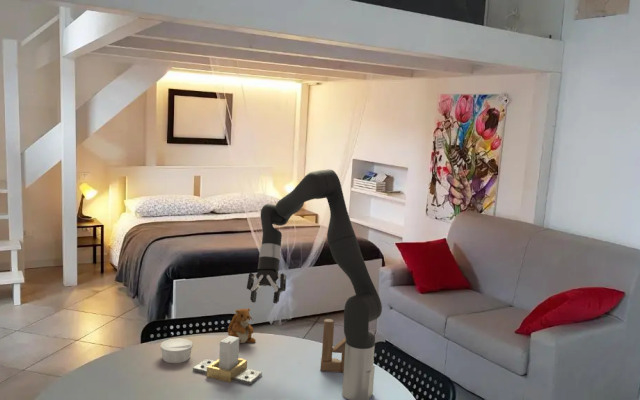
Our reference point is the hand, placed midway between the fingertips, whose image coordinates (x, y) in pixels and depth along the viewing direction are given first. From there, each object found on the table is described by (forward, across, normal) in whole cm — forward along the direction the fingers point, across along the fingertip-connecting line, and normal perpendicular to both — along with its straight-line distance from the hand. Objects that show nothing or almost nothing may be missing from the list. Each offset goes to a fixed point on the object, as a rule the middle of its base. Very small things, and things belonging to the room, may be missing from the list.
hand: (264, 302), depth 192 cm
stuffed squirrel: (+12, -19, +21) cm, 31 cm away
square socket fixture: (+25, -9, -4) cm, 27 cm away
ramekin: (+21, -31, -3) cm, 37 cm away
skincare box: (+25, -8, -4) cm, 27 cm away
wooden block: (+20, +23, +15) cm, 35 cm away
